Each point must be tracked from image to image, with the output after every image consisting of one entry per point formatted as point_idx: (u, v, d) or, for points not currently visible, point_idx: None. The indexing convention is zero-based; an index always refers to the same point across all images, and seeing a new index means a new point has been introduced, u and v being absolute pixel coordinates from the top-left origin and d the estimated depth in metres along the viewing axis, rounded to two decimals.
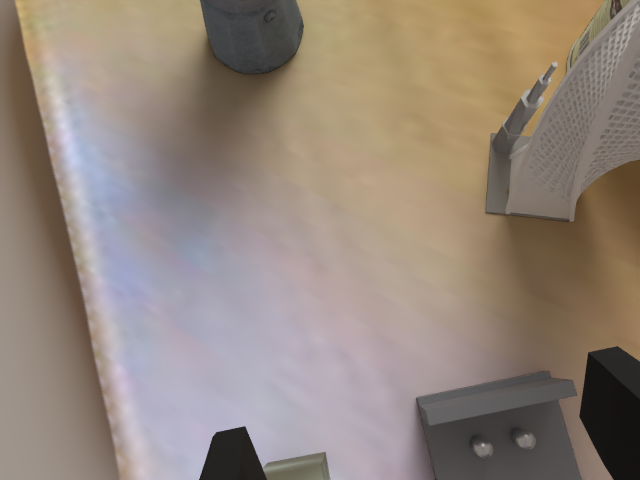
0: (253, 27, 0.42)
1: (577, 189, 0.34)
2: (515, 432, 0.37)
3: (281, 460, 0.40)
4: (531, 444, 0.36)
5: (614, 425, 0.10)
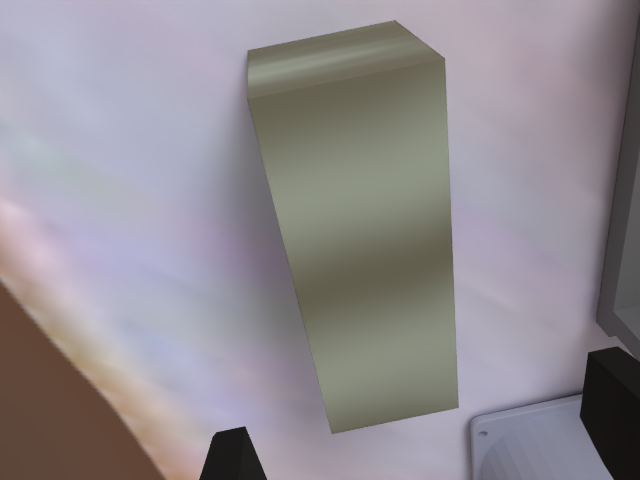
0: None
1: None
2: None
3: (283, 44, 0.16)
4: None
5: (614, 425, 0.10)
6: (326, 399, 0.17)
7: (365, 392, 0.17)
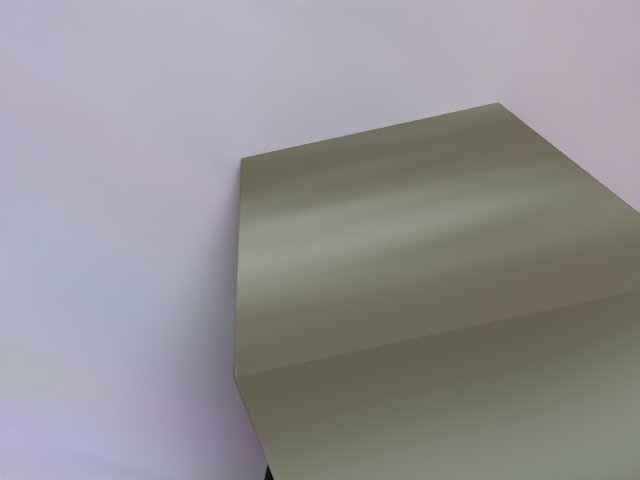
0: None
1: None
2: None
3: (305, 152, 0.09)
4: None
5: None
6: None
7: None
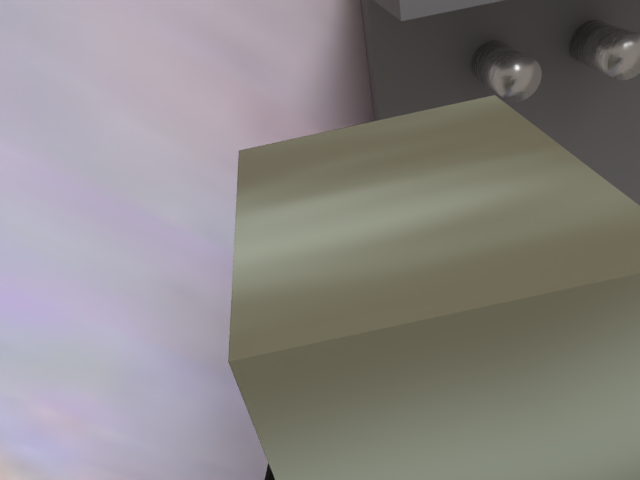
0: None
1: None
2: (597, 33, 0.15)
3: (302, 144, 0.09)
4: (636, 67, 0.14)
5: None
6: None
7: None
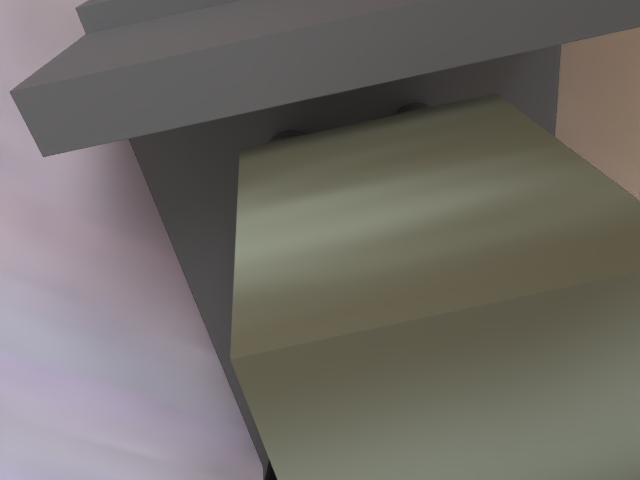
0: None
1: None
2: None
3: (303, 142, 0.09)
4: None
5: None
6: None
7: None
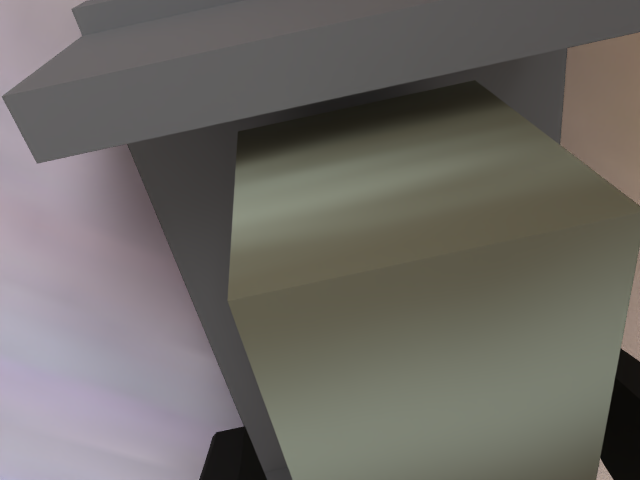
0: None
1: None
2: None
3: (296, 124, 0.09)
4: None
5: (614, 425, 0.10)
6: None
7: None
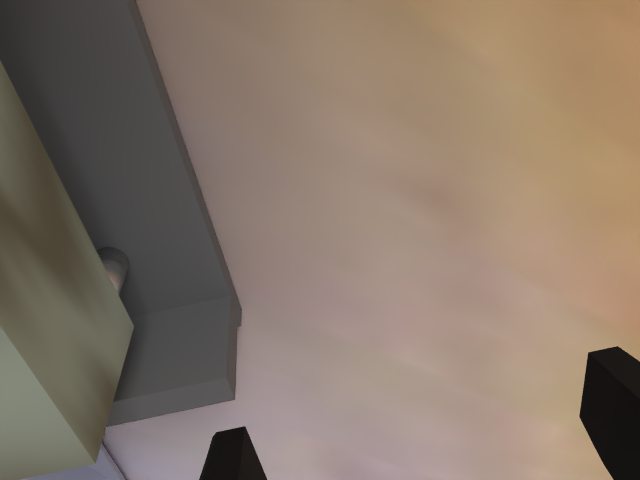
0: None
1: None
2: None
3: None
4: None
5: (614, 425, 0.10)
6: None
7: None
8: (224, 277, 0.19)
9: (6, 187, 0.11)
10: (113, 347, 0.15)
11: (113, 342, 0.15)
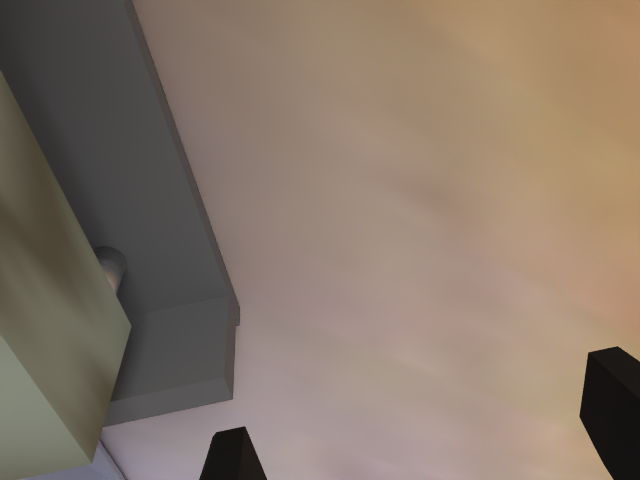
0: None
1: None
2: None
3: None
4: None
5: (614, 425, 0.10)
6: None
7: None
8: (222, 276, 0.19)
9: (0, 186, 0.11)
10: (110, 347, 0.15)
11: (110, 342, 0.15)
